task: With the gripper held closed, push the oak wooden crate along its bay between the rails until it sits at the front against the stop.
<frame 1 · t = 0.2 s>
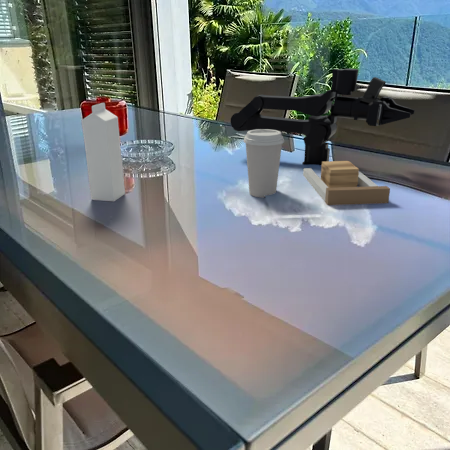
hand: (412, 113, 122), 16 cm above the table, tool horizontal, fingers open, 9 cm apart
milk: (108, 197, 112), on the table
coffee cup: (262, 194, 113), on the table
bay: (344, 192, 113), on the table
crate: (339, 174, 116), point 3 cm above the table, slide at 0.0 cm
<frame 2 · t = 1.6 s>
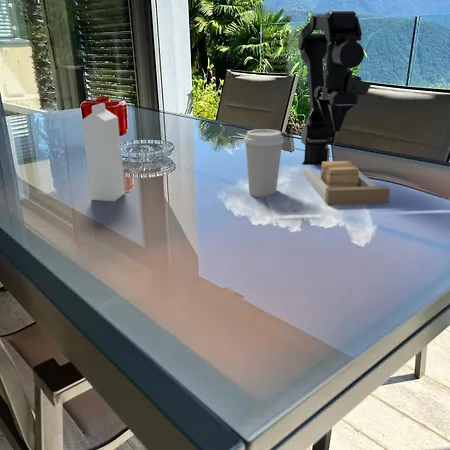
hand: (332, 128, 121), 13 cm above the table, tool pointing down, fingers open, 8 cm apart
nothing on the table moved.
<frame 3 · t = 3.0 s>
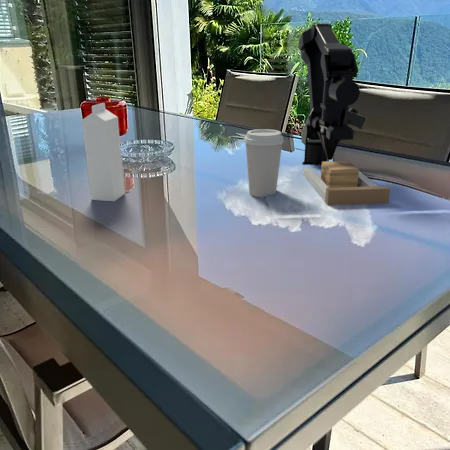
hand: (329, 159, 124), 5 cm above the table, tool pointing down, fingers closed
nothing on the table moved.
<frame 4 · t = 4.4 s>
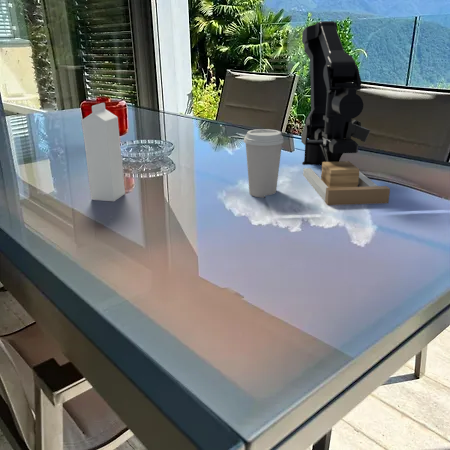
hand: (332, 172, 122), 2 cm above the table, tool pointing down, fingers closed
crate: (339, 175, 116), point 3 cm above the table, slide at 0.4 cm, touching gripper
everything else where it was.
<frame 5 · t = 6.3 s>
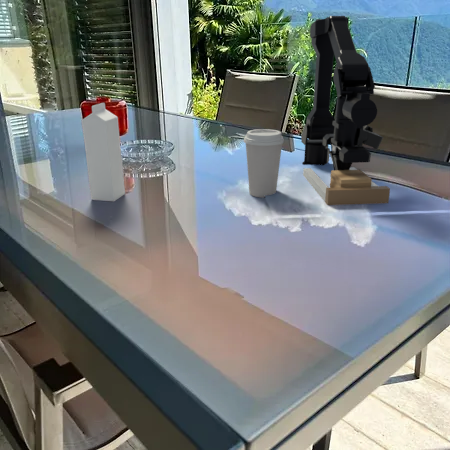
hand: (341, 181, 114), 2 cm above the table, tool pointing down, fingers closed
crate: (349, 184, 108), point 3 cm above the table, slide at 8.6 cm, touching gripper
everything else where it was.
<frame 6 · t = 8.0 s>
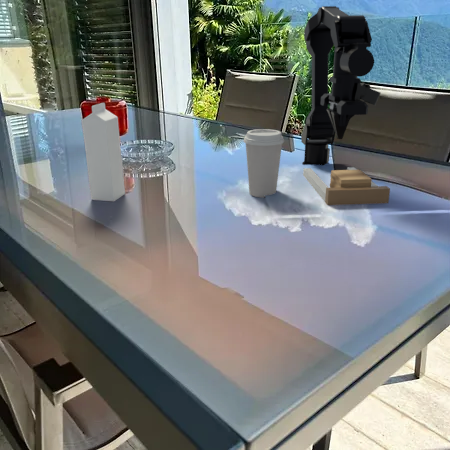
hand: (339, 138, 115), 12 cm above the table, tool pointing down, fingers closed
crate: (349, 184, 108), point 3 cm above the table, slide at 8.5 cm
everything else where it was.
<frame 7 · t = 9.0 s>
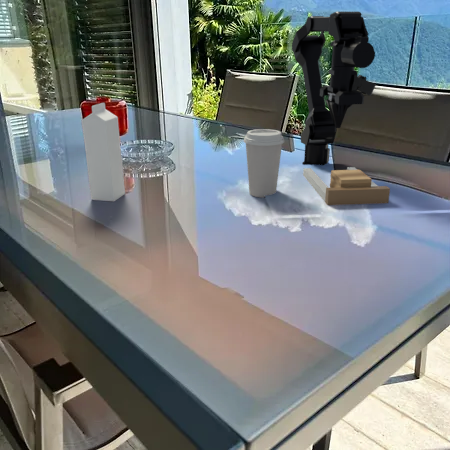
hand: (337, 127, 122), 13 cm above the table, tool pointing down, fingers closed
nothing on the table moved.
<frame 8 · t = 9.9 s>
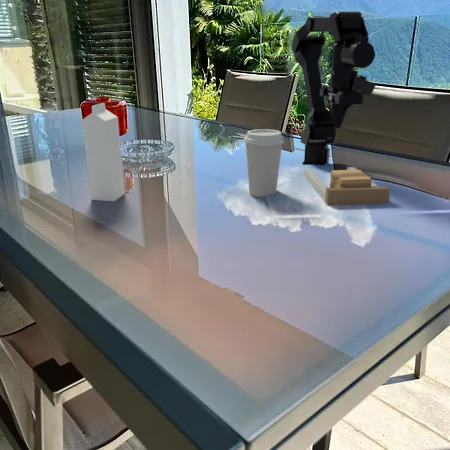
hand: (337, 127, 122), 13 cm above the table, tool pointing down, fingers closed
nothing on the table moved.
at the end: crate slide at 8.5 cm; coffee cup moved 0.2 cm from its start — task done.
